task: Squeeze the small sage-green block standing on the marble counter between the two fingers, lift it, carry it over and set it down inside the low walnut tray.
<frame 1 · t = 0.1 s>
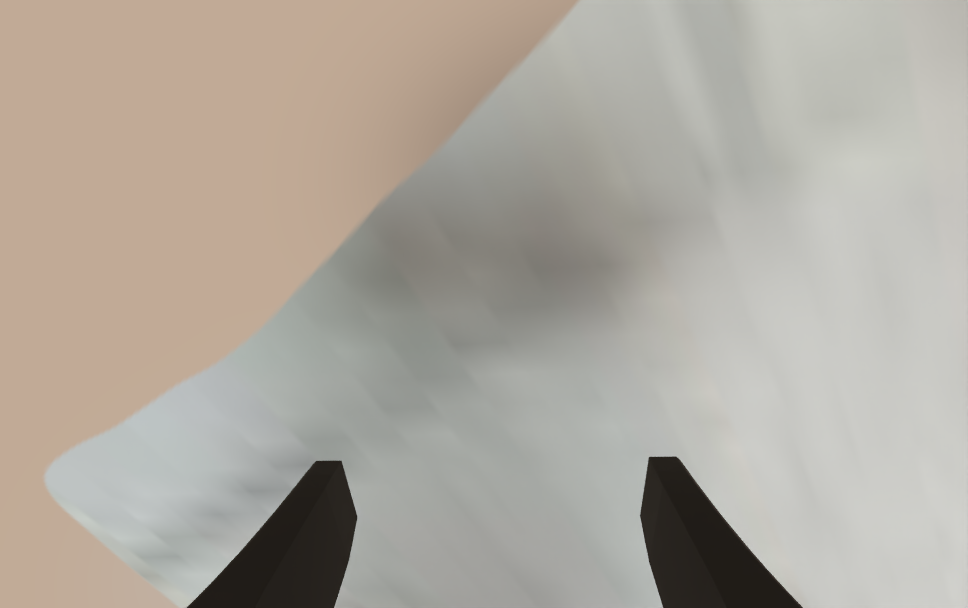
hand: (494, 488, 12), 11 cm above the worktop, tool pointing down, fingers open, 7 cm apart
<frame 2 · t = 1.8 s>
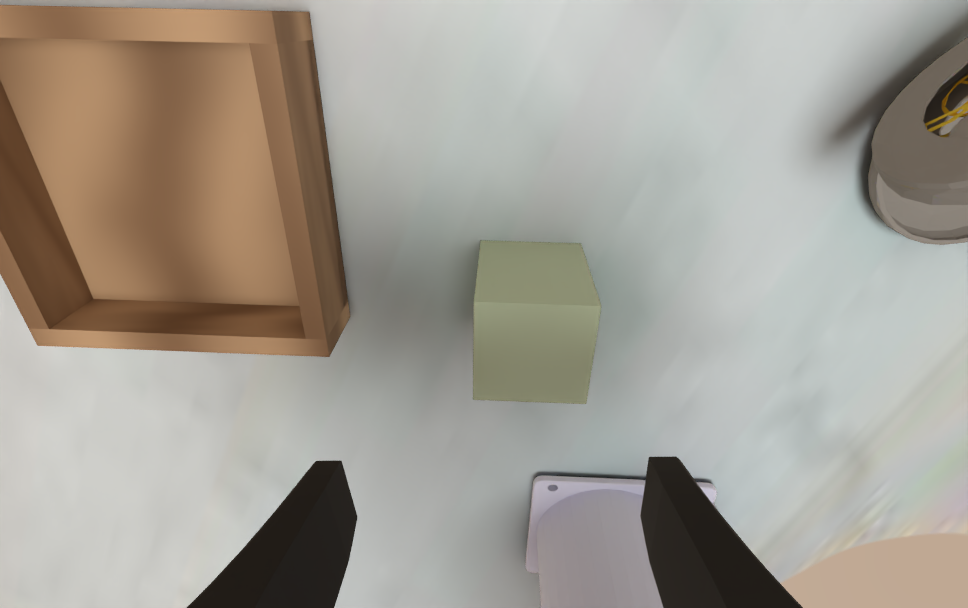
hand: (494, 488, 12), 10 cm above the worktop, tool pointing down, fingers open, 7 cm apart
pocket watch: (944, 119, 17), on the worktop
sage block: (527, 285, 21), on the worktop
walnut tray: (183, 182, 19), on the worktop
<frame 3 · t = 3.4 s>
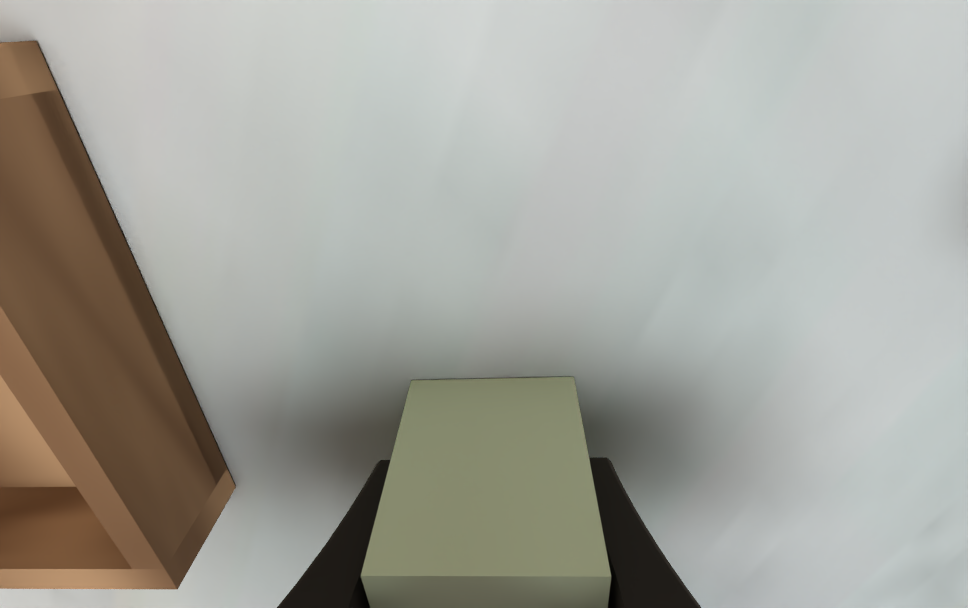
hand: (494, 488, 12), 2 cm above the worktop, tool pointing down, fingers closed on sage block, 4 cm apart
sage block: (495, 438, 13), on the worktop, touching gripper
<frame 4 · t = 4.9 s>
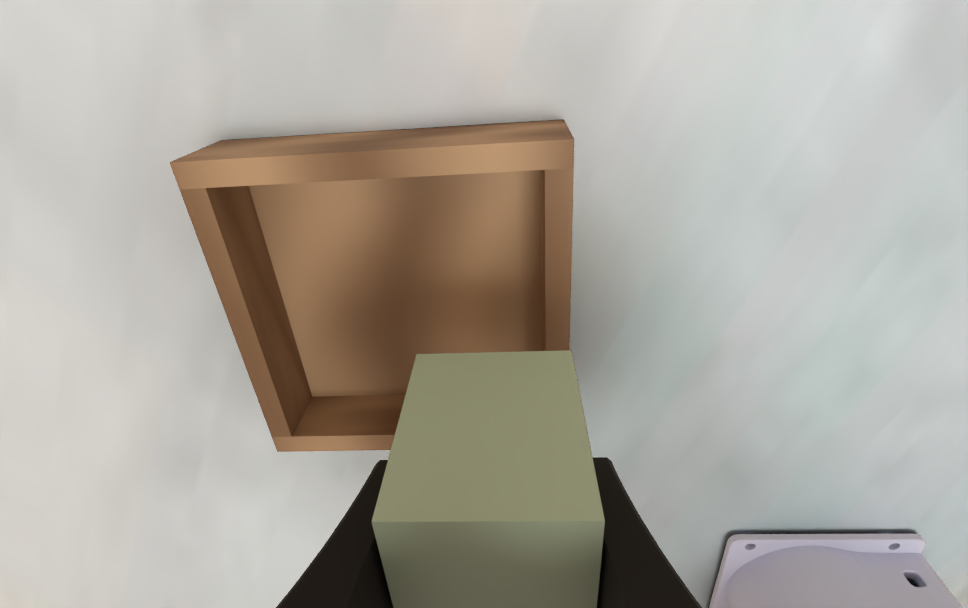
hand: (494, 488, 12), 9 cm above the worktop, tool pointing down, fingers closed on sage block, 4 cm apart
sage block: (496, 411, 14), point 7 cm above the worktop, touching gripper
walnut tray: (412, 284, 20), on the worktop
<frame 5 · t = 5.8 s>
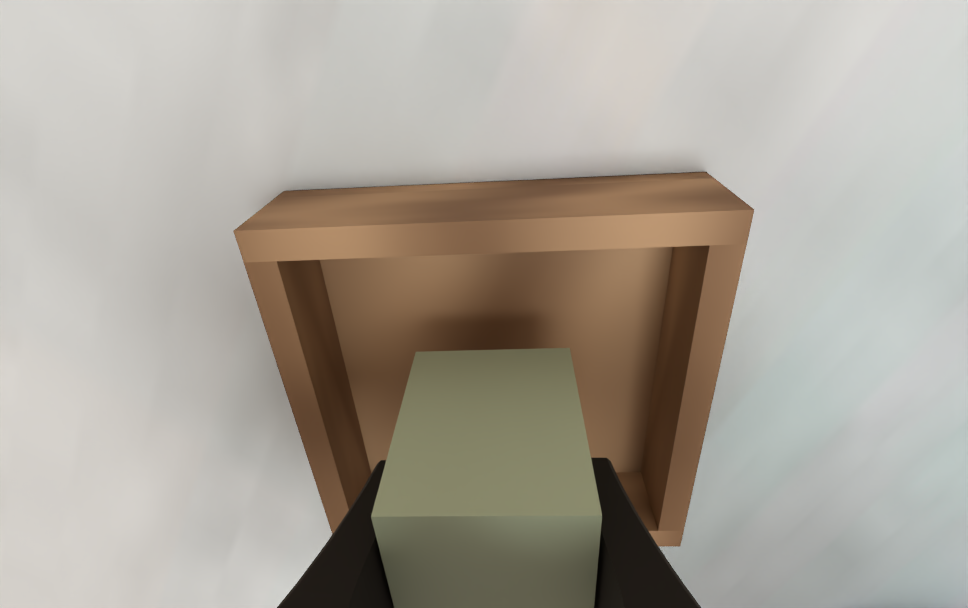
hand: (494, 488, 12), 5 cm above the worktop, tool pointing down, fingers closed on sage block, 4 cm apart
sage block: (495, 408, 14), point 3 cm above the worktop, touching gripper
walnut tray: (498, 354, 17), on the worktop
when the fingers open (3 cm above the worktop, at t = 6.6 s): sage block stays where it is, resting on walnut tray.
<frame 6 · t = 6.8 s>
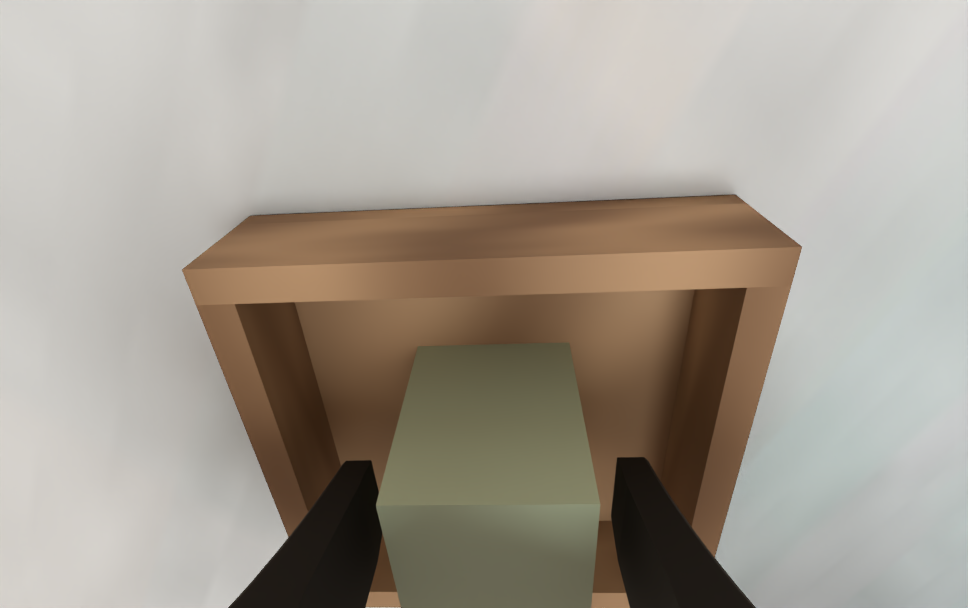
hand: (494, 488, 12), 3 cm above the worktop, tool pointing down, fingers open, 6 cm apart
sage block: (496, 402, 14), point 1 cm above the worktop, touching walnut tray
walnut tray: (496, 393, 15), on the worktop
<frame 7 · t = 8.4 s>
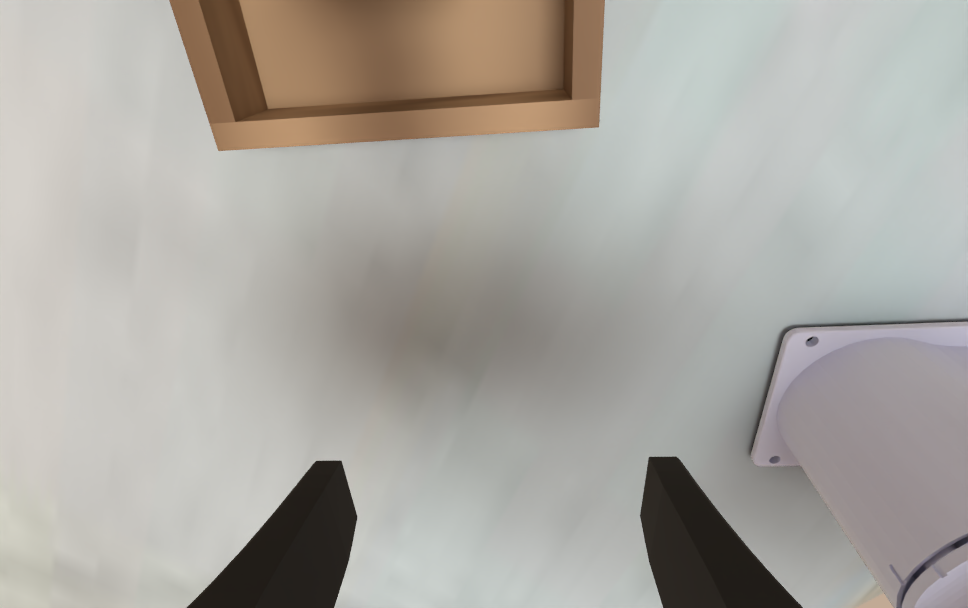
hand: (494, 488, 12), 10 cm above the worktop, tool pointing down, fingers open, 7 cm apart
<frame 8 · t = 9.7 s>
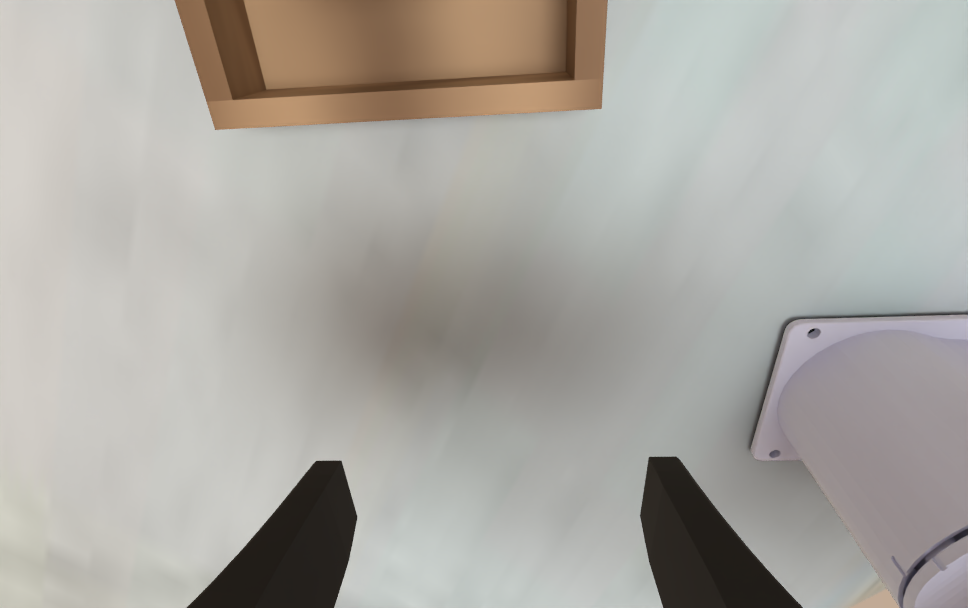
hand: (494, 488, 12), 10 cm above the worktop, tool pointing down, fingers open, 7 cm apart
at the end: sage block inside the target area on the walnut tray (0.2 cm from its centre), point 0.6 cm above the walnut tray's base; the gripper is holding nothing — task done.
